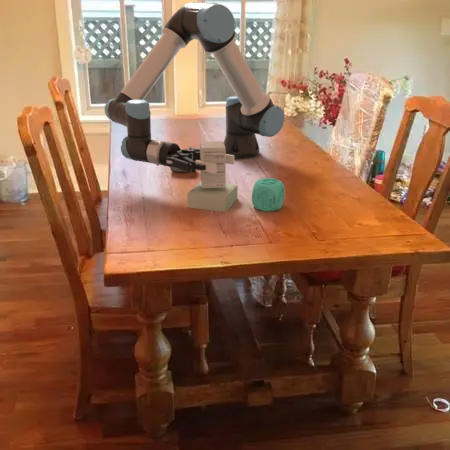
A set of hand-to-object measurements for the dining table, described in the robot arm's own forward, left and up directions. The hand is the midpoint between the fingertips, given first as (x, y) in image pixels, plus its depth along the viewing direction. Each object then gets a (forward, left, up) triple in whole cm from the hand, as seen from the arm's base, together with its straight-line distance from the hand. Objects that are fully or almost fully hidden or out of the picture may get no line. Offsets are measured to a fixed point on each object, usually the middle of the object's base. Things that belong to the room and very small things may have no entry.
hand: (225, 164), depth 172 cm
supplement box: (+2, -4, -7) cm, 8 cm away
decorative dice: (-12, +6, -13) cm, 19 cm away
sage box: (+2, -4, -13) cm, 14 cm away
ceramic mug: (-1, -39, -13) cm, 41 cm away
